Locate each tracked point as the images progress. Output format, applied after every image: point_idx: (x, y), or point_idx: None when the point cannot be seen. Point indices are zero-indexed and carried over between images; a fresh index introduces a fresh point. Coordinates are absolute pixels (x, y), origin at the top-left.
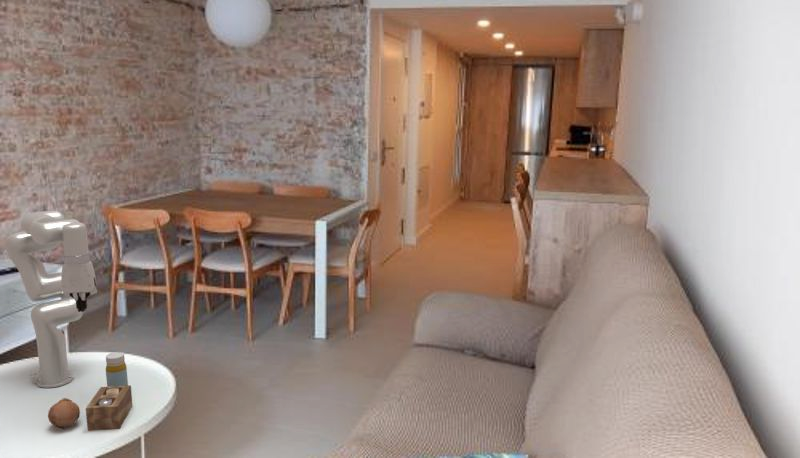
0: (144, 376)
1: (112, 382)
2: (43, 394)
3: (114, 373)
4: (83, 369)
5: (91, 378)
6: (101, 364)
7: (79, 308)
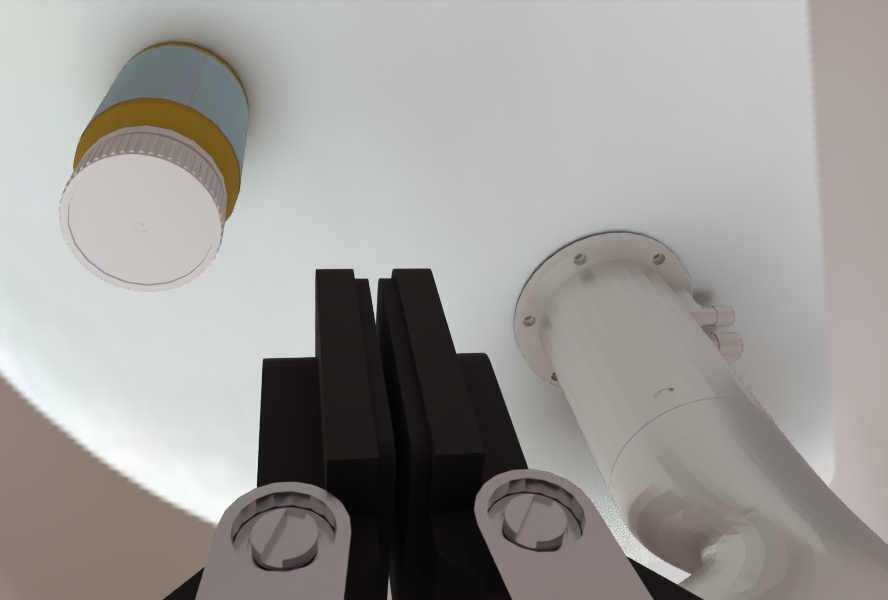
0: (106, 322)
1: (177, 74)
2: (635, 158)
3: (144, 95)
4: None
5: None
6: None
7: (401, 312)
